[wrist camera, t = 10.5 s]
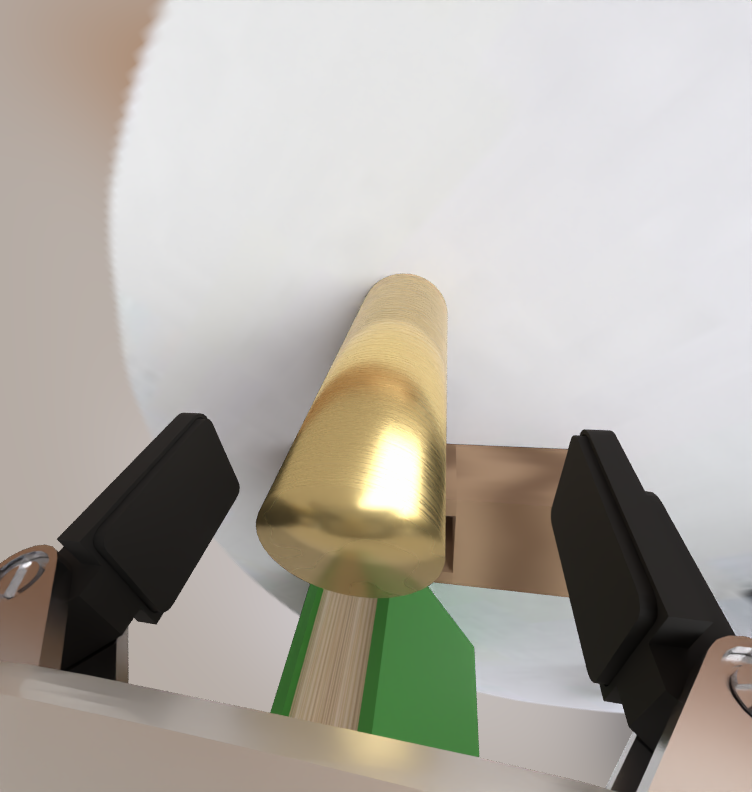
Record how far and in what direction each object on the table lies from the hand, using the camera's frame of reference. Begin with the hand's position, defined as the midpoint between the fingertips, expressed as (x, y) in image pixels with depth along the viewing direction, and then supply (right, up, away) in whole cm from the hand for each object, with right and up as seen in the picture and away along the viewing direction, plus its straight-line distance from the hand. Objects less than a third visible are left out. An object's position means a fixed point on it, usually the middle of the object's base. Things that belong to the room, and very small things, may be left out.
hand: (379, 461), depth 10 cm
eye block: (+4, -4, +14) cm, 15 cm away
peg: (+1, +6, +8) cm, 9 cm away
